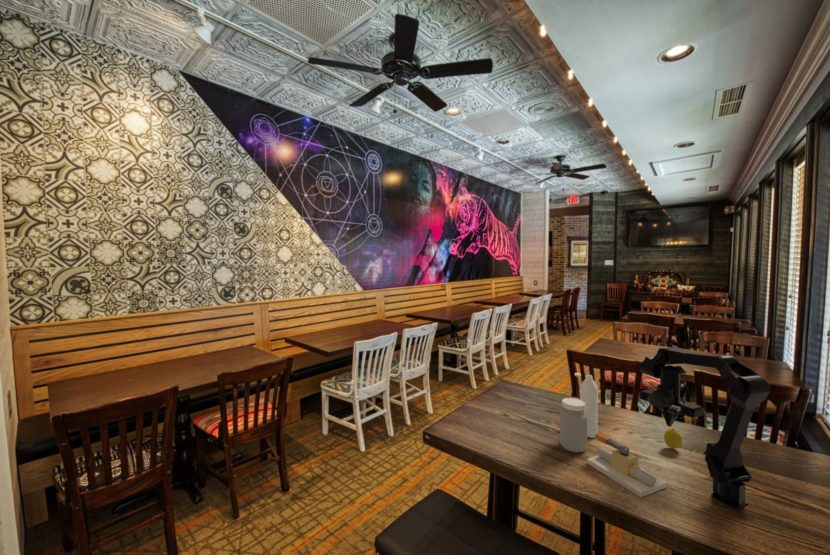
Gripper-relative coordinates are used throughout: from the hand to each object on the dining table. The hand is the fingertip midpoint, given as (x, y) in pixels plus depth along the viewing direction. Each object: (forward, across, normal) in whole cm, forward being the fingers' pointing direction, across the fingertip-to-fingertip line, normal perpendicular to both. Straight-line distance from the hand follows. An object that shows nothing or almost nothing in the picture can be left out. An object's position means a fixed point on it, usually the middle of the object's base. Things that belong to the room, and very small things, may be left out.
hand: (669, 426), depth 125 cm
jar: (+13, -21, -23) cm, 34 cm away
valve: (+13, -1, -21) cm, 25 cm away
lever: (+6, -6, -21) cm, 22 cm away
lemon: (+13, -5, +10) cm, 17 cm away
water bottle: (+13, -27, -10) cm, 32 cm away
